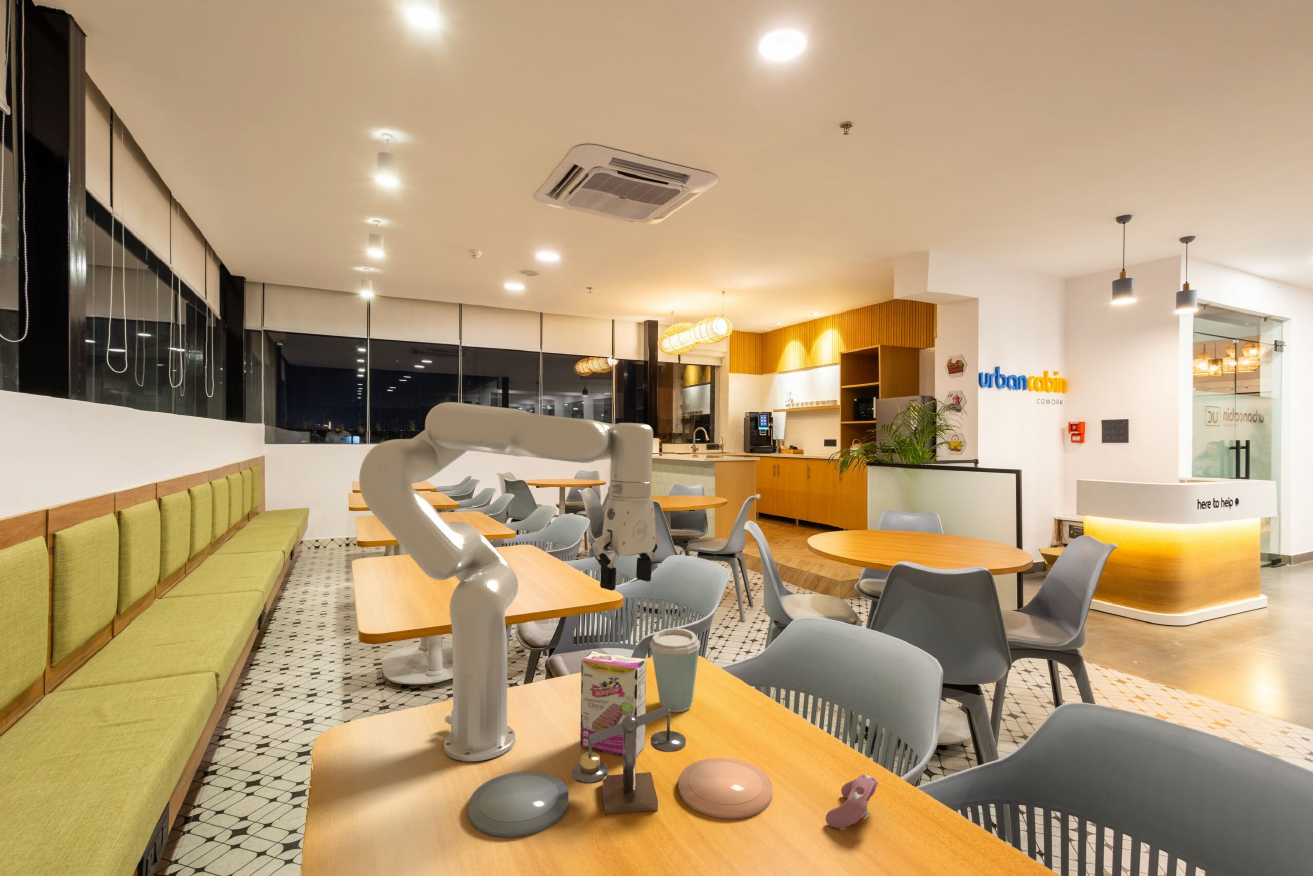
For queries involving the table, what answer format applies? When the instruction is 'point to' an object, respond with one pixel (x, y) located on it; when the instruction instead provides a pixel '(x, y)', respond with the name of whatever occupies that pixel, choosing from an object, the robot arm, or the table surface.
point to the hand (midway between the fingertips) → (626, 584)
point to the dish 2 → (725, 788)
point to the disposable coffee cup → (675, 667)
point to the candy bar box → (611, 698)
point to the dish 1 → (518, 804)
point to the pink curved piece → (853, 802)
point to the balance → (627, 765)
